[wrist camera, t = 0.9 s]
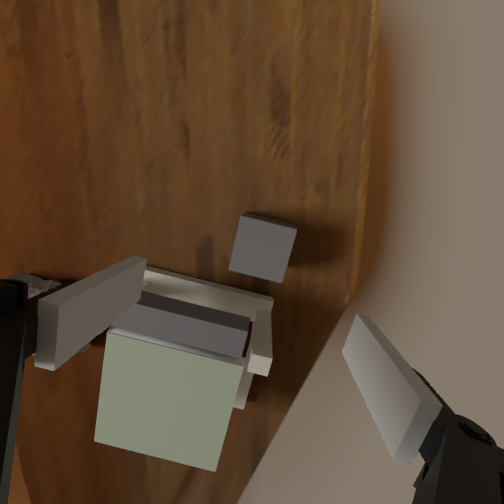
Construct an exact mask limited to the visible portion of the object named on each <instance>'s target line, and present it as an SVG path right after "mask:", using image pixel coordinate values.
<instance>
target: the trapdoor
mask: <svg viewBox="0 0 504 504" xmlns="http://www.w3.org/2000/svg"><path fill="white" fill-rule="evenodd" d="M249 322H250V318H249V317H245V316H241V315H237V314H233V313H229V312H225V311H221V310H217V309H213V308H209V307H205V306H201V305H197V304H193V303H189V302H185V301H181V300H177V299H173V298H169V297H165V296H161V295H157V294H153V293H149V292H145V291H141V298H140V300H139V301H138V302H137V303H136V304H134V305H133V306H132V307H131V308H129V309H128V310H127V311H126V312H125V313H123V314H122V315H121V316H120V317H119V318H117V319H116V320H115V321H114V322H113V323H112V324H111V326H110V327H109V329H108V332H107V337H106V345H105V354H104V362H103V371H102V379H101V388H100V396H99V404H98V413H97V421H96V430H95V438H94V441H95V442H99V443H103V444H107V445H111V446H115V447H119V448H123V449H127V450H131V451H135V452H139V453H143V454H147V455H151V456H154V457H158V458H162V459H166V460H170V461H174V462H178V463H182V464H186V465H190V466H194V467H198V468H202V469H206V470H210V471H214V472H215V471H216V468H217V464H218V460H219V457H220V453H221V449H222V445H223V442H224V438H225V434H226V431H227V427H228V423H229V420H230V416H231V412H232V409H233V405H234V401H235V397H236V394H237V390H238V386H239V383H240V379H241V375H242V372H243V368H244V364H245V359H246V358H245V357H242V353H243V349H244V345H245V341H246V338H247V334H248V329H249Z"/></svg>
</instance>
